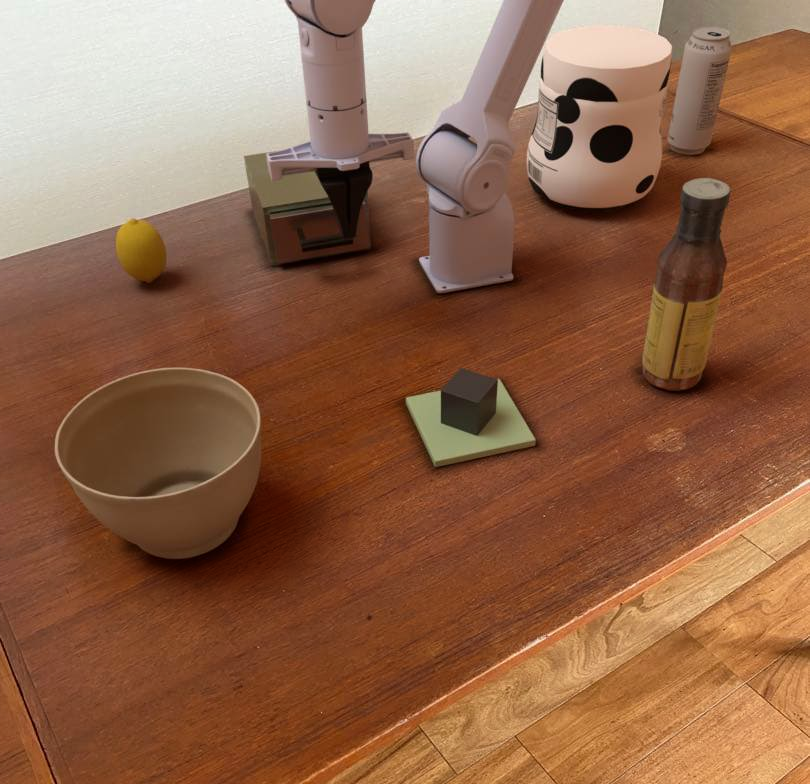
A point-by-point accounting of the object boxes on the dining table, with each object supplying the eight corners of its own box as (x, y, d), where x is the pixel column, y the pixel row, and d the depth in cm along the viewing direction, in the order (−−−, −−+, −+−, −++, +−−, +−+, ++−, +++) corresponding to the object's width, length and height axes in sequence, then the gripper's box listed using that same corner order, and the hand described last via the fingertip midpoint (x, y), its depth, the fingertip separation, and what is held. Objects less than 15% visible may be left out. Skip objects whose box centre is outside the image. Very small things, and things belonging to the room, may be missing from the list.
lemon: (162, 296, 102) (145, 232, 96) (119, 292, 103) (99, 229, 97) (179, 271, 106) (164, 209, 100) (137, 268, 107) (120, 206, 101)
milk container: (673, 180, 118) (703, 35, 105) (623, 235, 109) (649, 83, 95) (558, 154, 125) (572, 14, 112) (501, 203, 115) (509, 56, 102)
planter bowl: (196, 620, 69) (164, 527, 61) (56, 544, 75) (10, 451, 67) (314, 498, 78) (300, 403, 70) (180, 439, 84) (153, 346, 76)
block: (459, 400, 86) (460, 367, 83) (496, 412, 85) (498, 379, 82) (440, 423, 84) (440, 390, 81) (477, 436, 82) (478, 402, 79)
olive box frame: (371, 249, 108) (367, 190, 102) (271, 266, 106) (262, 207, 100) (344, 198, 118) (339, 141, 112) (253, 212, 116) (243, 155, 110)
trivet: (499, 384, 89) (499, 378, 88) (535, 446, 82) (536, 439, 82) (405, 403, 87) (405, 397, 87) (435, 467, 81) (435, 461, 80)
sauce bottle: (704, 363, 90) (755, 175, 76) (697, 399, 86) (749, 208, 72) (641, 353, 92) (678, 167, 77) (631, 387, 88) (669, 198, 73)
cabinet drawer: (377, 265, 104) (374, 219, 99) (283, 281, 102) (276, 235, 98) (343, 199, 115) (340, 156, 111) (259, 213, 114) (252, 169, 109)
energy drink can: (682, 135, 128) (705, 21, 117) (717, 147, 125) (744, 32, 114) (657, 147, 125) (678, 33, 114) (692, 160, 122) (717, 43, 111)
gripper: (267, 126, 78) (287, 263, 88) (421, 104, 80) (423, 240, 90) (255, 98, 83) (275, 231, 93) (401, 78, 85) (405, 210, 95)
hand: (347, 234), depth 92 cm, fingers closed
